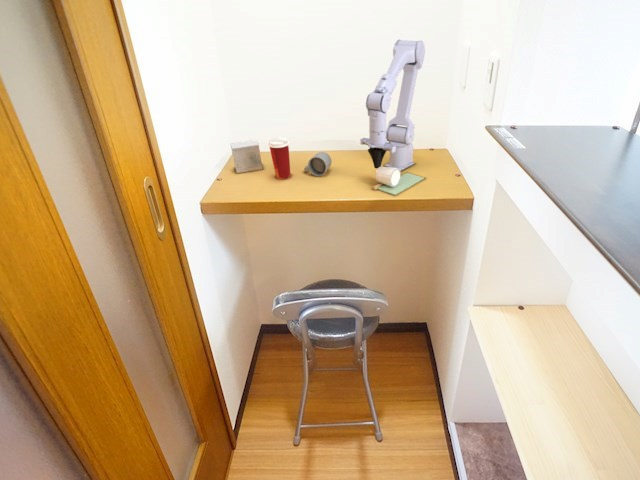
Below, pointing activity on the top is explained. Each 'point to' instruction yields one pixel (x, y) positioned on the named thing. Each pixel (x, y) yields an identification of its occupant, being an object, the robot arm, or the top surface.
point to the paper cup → (280, 157)
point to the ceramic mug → (319, 164)
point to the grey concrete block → (246, 156)
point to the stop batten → (378, 186)
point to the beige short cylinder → (388, 176)
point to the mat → (402, 184)
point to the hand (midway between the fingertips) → (377, 167)
